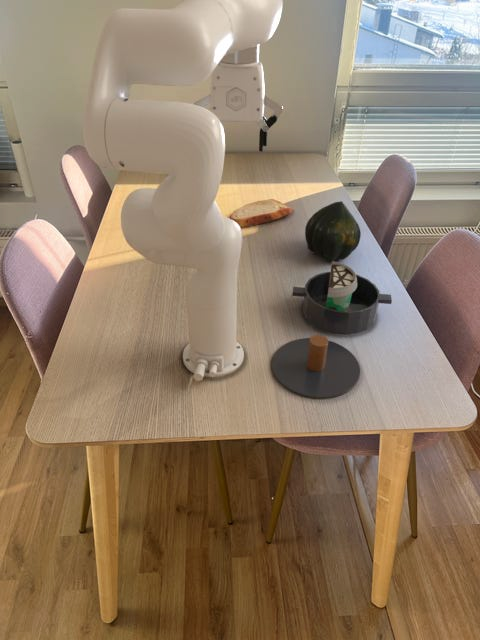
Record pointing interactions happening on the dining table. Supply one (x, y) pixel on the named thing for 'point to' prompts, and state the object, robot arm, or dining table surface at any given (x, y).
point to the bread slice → (260, 212)
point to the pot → (340, 319)
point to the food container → (340, 287)
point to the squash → (333, 232)
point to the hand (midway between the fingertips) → (237, 148)
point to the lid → (316, 367)
